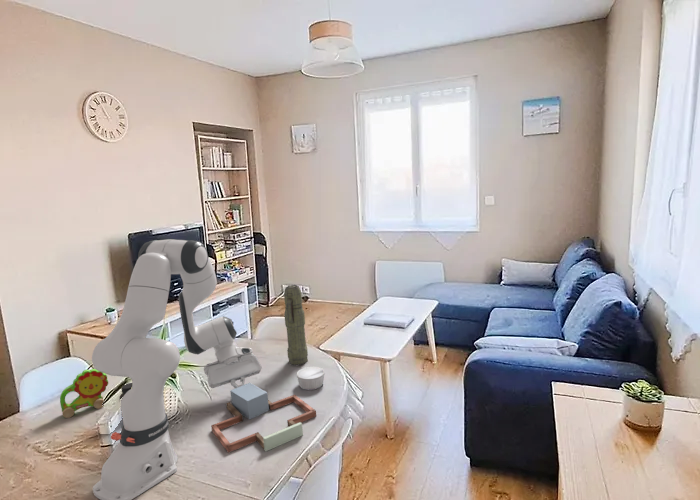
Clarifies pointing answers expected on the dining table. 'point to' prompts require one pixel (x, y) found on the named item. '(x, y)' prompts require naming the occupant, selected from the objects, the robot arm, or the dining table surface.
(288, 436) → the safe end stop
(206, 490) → the dining table surface
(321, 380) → the ramekin
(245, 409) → the slate block
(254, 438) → the channel
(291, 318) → the green carved statue
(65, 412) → the toy lion
